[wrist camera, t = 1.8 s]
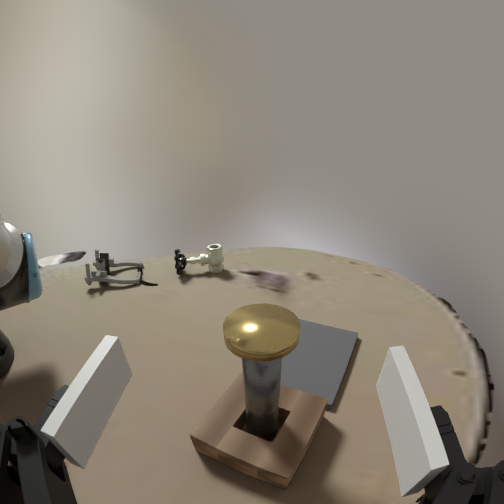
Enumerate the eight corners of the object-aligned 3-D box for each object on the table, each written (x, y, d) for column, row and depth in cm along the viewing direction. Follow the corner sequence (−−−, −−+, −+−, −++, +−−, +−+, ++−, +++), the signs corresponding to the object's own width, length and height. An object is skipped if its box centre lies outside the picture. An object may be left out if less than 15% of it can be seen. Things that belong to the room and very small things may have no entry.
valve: (223, 264, 78) (179, 268, 76) (221, 241, 75) (175, 245, 73) (225, 275, 72) (177, 279, 70) (223, 250, 69) (173, 255, 67)
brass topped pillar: (226, 440, 29) (207, 335, 22) (251, 405, 34) (246, 297, 28) (274, 460, 26) (281, 360, 20) (296, 421, 31) (310, 313, 25)
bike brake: (82, 290, 63) (157, 294, 68) (79, 265, 61) (157, 268, 66) (95, 267, 75) (161, 270, 80) (94, 245, 73) (161, 248, 78)
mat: (245, 381, 40) (245, 377, 39) (290, 321, 53) (290, 316, 53) (330, 409, 34) (331, 405, 33) (357, 337, 48) (358, 333, 47)
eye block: (195, 449, 29) (189, 434, 27) (243, 389, 38) (242, 371, 37) (285, 489, 23) (288, 478, 22) (323, 416, 33) (328, 398, 31)
